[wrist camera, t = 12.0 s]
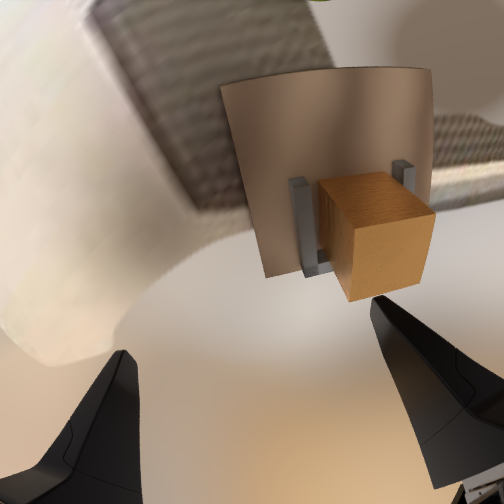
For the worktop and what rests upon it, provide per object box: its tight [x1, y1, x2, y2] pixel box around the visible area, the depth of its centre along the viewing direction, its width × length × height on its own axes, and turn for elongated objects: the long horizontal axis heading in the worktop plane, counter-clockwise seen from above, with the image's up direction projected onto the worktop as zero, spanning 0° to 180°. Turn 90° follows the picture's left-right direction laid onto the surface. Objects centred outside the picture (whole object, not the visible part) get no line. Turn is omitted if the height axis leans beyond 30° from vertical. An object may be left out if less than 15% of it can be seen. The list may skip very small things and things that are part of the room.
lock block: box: [317, 171, 436, 302], centre depth 17 cm, size 5×5×6 cm
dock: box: [220, 67, 433, 278], centre depth 18 cm, size 14×14×3 cm
